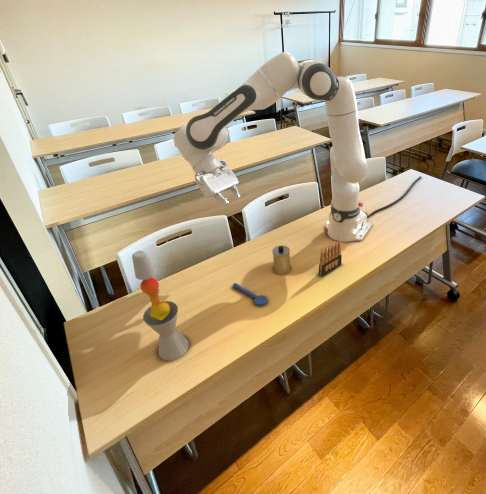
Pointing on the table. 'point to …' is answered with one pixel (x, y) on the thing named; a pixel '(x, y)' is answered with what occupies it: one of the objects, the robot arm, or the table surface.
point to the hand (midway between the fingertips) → (232, 201)
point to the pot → (281, 259)
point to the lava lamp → (159, 310)
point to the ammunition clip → (330, 258)
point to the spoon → (253, 295)
